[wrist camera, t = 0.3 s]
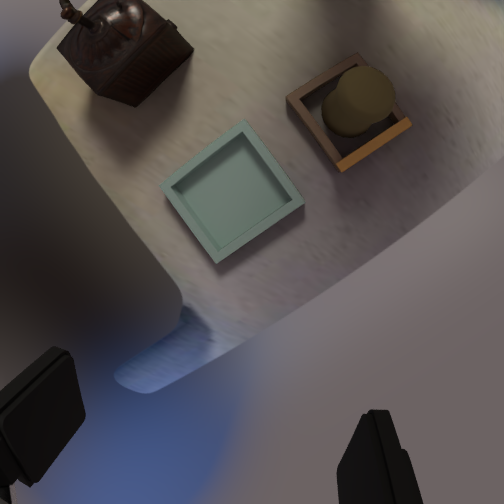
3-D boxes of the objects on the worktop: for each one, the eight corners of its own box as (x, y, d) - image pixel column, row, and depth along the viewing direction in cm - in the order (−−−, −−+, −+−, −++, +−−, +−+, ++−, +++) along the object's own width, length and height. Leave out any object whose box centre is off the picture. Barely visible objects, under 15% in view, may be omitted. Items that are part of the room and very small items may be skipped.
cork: (381, 127, 33) (416, 112, 22) (335, 145, 34) (354, 136, 23) (358, 80, 32) (384, 48, 21) (312, 98, 33) (321, 69, 22)
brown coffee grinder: (200, 47, 32) (138, -26, 15) (136, 110, 35) (39, 82, 18) (133, -8, 31) (63, -70, 13) (78, 47, 33) (-9, 11, 16)
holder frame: (354, 57, 31) (358, 50, 28) (405, 127, 32) (412, 125, 30) (285, 100, 33) (285, 95, 31) (338, 172, 35) (342, 172, 32)
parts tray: (247, 121, 34) (244, 118, 32) (304, 200, 36) (305, 202, 34) (166, 184, 37) (158, 185, 35) (220, 258, 39) (216, 264, 36)
